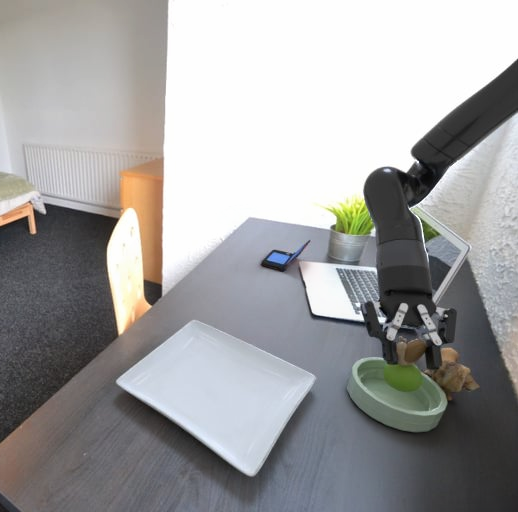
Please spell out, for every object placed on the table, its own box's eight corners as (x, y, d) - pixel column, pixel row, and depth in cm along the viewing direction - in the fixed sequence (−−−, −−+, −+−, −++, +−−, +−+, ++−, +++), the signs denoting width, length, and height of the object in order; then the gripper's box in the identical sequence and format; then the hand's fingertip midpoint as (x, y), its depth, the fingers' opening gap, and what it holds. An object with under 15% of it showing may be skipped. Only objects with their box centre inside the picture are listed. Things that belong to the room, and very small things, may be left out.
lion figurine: (465, 419, 63) (487, 380, 59) (426, 407, 65) (445, 369, 61) (447, 366, 74) (464, 330, 70) (414, 357, 77) (430, 322, 73)
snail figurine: (368, 381, 67) (386, 328, 62) (394, 372, 68) (414, 320, 63) (396, 404, 62) (419, 348, 57) (424, 394, 64) (448, 339, 59)
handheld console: (272, 251, 124) (276, 231, 121) (306, 260, 118) (311, 239, 115) (259, 265, 116) (262, 244, 112) (295, 275, 109) (300, 253, 106)
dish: (414, 380, 71) (422, 362, 69) (455, 441, 59) (466, 421, 57) (337, 370, 74) (342, 352, 72) (361, 426, 62) (368, 407, 60)
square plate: (250, 495, 53) (254, 477, 51) (113, 395, 70) (112, 379, 68) (314, 388, 70) (319, 373, 68) (192, 329, 87) (193, 316, 85)
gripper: (366, 260, 64) (374, 359, 59) (463, 266, 61) (481, 372, 56) (349, 272, 71) (355, 362, 66) (435, 278, 68) (448, 373, 63)
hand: (412, 366), depth 61 cm, fingers closed on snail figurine, 5 cm apart
